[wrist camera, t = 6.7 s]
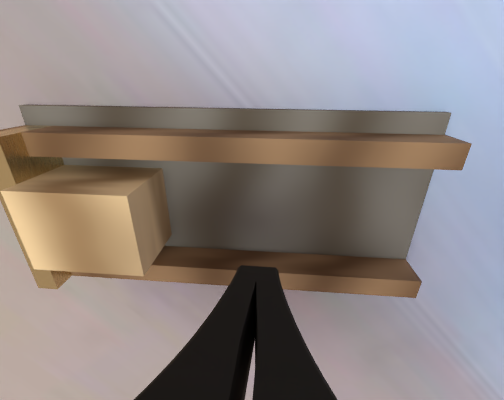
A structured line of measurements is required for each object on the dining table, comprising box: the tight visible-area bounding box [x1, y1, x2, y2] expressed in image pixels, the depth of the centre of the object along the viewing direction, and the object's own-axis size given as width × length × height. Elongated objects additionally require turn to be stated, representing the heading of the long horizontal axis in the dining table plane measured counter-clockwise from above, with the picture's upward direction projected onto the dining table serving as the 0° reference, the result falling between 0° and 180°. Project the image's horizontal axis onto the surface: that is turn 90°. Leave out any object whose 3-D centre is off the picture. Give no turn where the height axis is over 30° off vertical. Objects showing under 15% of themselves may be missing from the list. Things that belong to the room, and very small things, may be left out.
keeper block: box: [1, 165, 172, 276], centre depth 14 cm, size 6×4×4 cm
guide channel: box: [0, 105, 471, 298], centre depth 15 cm, size 22×11×2 cm, turn 90°
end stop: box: [0, 125, 72, 289], centre depth 15 cm, size 1×9×4 cm, turn 0°
